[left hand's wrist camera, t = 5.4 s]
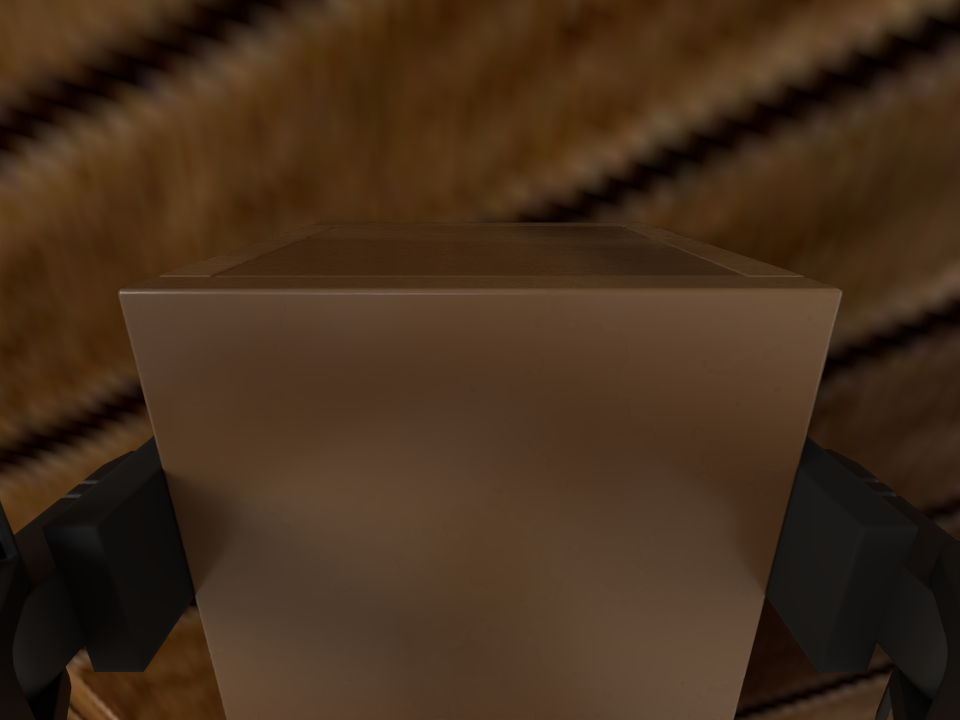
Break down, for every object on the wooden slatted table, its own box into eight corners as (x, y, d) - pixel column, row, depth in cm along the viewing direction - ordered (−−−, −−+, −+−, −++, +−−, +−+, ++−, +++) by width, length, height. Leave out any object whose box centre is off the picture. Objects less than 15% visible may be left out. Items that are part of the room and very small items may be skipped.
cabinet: (591, 700, 24) (658, 1019, 15) (368, 700, 24) (301, 1019, 15) (644, 222, 16) (847, 289, 7) (315, 222, 16) (113, 289, 7)
